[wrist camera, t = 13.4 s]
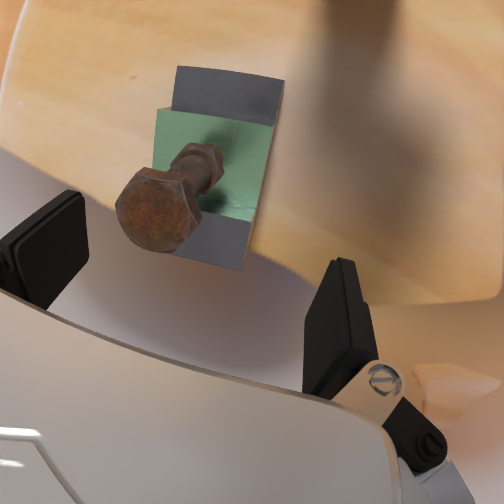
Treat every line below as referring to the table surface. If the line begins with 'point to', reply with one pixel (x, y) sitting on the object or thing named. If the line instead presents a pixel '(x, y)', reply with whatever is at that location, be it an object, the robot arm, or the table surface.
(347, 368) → the robot arm
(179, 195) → the bolt
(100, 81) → the table surface
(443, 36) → the table surface
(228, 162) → the stepped stand
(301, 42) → the table surface
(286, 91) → the table surface
